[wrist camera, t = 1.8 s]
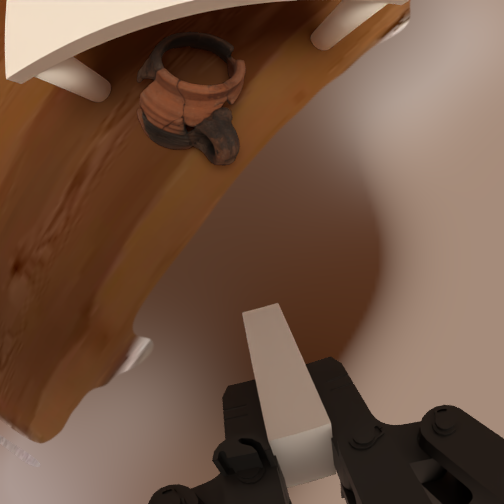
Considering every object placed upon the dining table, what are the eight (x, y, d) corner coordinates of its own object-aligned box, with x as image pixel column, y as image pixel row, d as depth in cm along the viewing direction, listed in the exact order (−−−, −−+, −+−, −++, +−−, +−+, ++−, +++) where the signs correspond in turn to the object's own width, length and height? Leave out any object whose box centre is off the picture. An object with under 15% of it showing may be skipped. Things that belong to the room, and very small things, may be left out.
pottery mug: (117, 105, 25) (118, 43, 17) (197, 72, 29) (218, 16, 21) (183, 204, 26) (204, 158, 18) (264, 156, 29) (305, 109, 22)
